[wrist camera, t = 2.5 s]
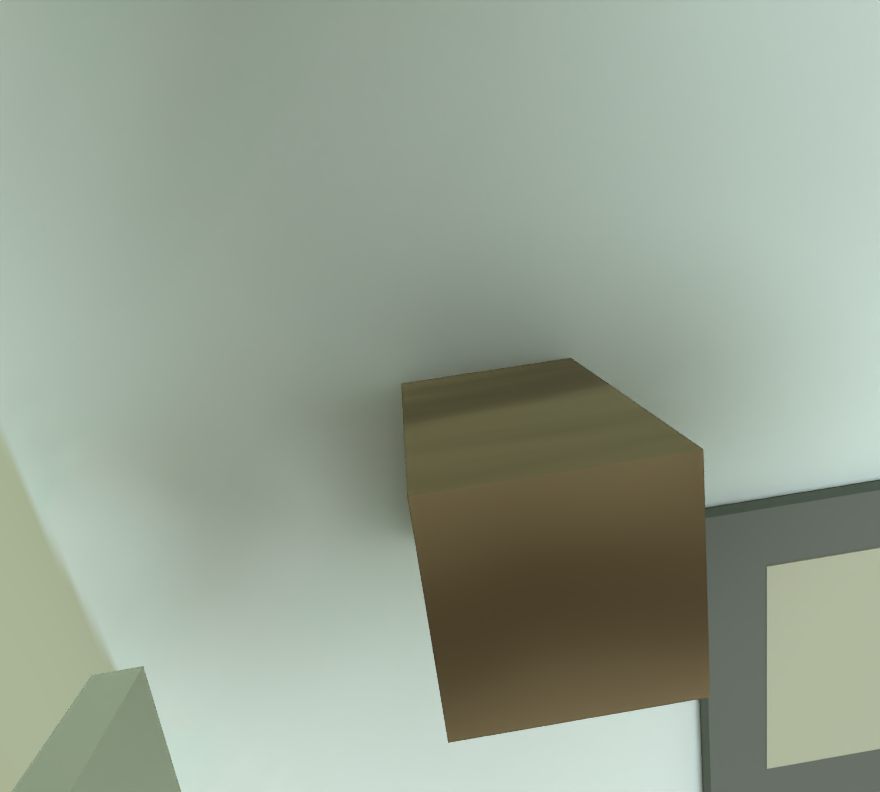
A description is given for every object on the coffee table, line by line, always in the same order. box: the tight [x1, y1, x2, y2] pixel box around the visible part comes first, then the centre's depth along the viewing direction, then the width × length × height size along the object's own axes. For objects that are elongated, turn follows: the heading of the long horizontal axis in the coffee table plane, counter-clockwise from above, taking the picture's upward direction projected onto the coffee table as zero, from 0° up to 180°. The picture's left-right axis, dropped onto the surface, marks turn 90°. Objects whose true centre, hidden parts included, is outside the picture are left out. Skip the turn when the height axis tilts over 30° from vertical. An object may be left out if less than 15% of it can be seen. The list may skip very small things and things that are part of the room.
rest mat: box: [700, 480, 880, 792], centre depth 21 cm, size 12×12×1 cm
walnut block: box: [402, 358, 710, 743], centre depth 15 cm, size 5×5×8 cm
